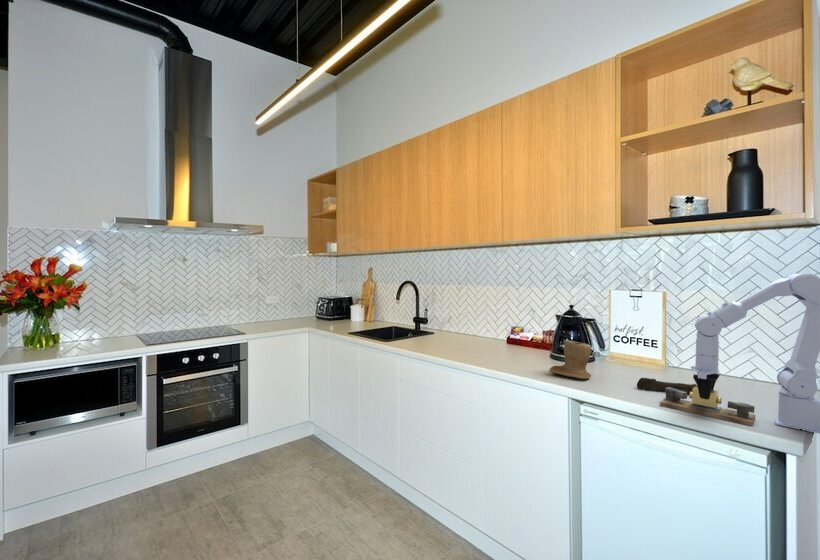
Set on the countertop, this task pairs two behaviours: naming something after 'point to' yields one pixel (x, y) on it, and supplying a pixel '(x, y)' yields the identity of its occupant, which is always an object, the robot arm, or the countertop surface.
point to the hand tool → (663, 385)
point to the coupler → (711, 402)
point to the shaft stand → (709, 408)
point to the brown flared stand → (574, 360)
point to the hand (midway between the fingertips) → (705, 397)
